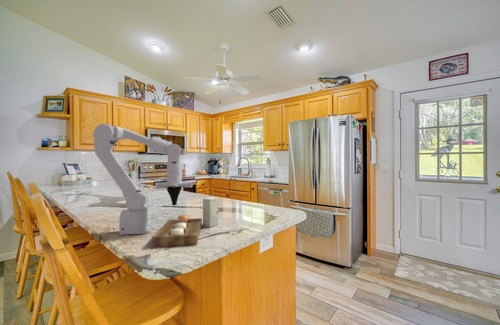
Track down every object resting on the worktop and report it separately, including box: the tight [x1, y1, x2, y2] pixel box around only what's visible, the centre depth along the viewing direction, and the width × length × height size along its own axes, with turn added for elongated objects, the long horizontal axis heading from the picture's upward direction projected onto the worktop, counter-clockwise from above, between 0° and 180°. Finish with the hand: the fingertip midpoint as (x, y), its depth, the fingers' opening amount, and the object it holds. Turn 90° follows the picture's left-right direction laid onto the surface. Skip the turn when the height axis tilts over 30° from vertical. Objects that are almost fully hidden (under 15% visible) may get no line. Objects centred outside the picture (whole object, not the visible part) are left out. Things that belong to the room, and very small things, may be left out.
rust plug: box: [177, 214, 190, 223], centre depth 90 cm, size 4×4×4 cm
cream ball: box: [175, 222, 187, 228], centre depth 83 cm, size 4×4×4 cm
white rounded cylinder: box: [171, 228, 184, 235], centre depth 76 cm, size 4×4×4 cm
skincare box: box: [202, 196, 219, 228], centre depth 95 cm, size 6×4×12 cm
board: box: [152, 217, 203, 248], centre depth 83 cm, size 14×22×3 cm, turn 9°
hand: (174, 204), depth 91 cm, fingers closed
